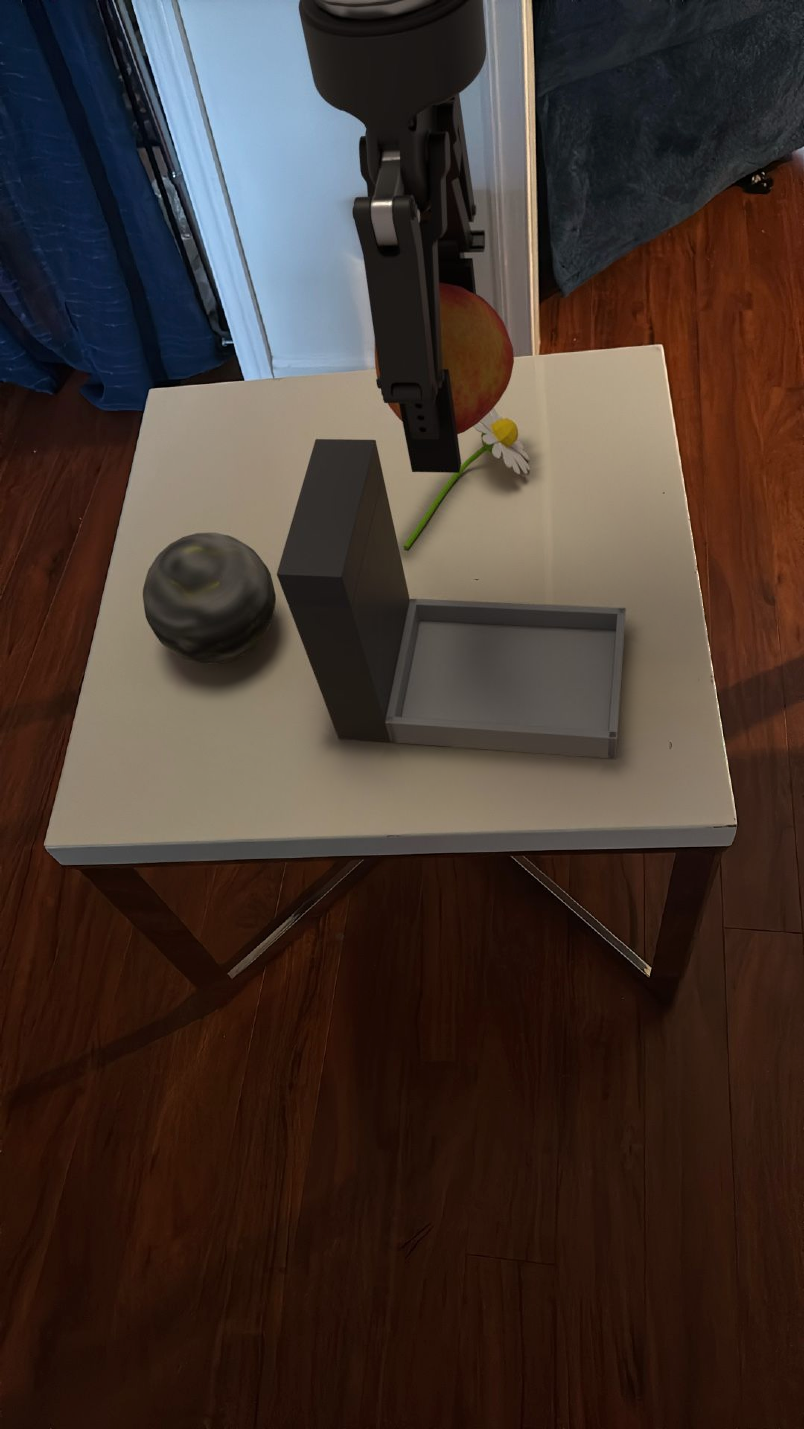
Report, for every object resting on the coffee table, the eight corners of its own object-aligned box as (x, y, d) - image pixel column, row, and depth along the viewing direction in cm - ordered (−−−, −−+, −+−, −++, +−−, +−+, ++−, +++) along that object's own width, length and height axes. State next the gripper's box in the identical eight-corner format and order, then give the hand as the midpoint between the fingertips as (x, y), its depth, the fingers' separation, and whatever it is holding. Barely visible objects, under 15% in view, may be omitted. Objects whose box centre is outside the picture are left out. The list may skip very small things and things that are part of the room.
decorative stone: (267, 696, 80) (232, 617, 72) (150, 681, 82) (102, 603, 74) (303, 594, 85) (274, 509, 76) (191, 583, 87) (151, 499, 79)
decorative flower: (412, 492, 79) (500, 367, 85) (371, 515, 84) (456, 396, 91) (481, 561, 82) (561, 435, 88) (436, 579, 87) (515, 459, 93)
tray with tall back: (624, 630, 79) (637, 442, 63) (615, 759, 73) (627, 588, 57) (365, 617, 83) (315, 438, 67) (338, 738, 77) (276, 574, 61)
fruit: (538, 380, 61) (531, 258, 55) (486, 476, 58) (472, 358, 51) (417, 359, 64) (397, 240, 57) (360, 449, 60) (332, 333, 54)
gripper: (347, -131, 48) (415, 296, 67) (232, 126, 37) (351, 547, 56) (510, -149, 46) (531, 293, 65) (438, 113, 36) (489, 552, 54)
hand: (448, 410), depth 61 cm, fingers closed on fruit, 8 cm apart
